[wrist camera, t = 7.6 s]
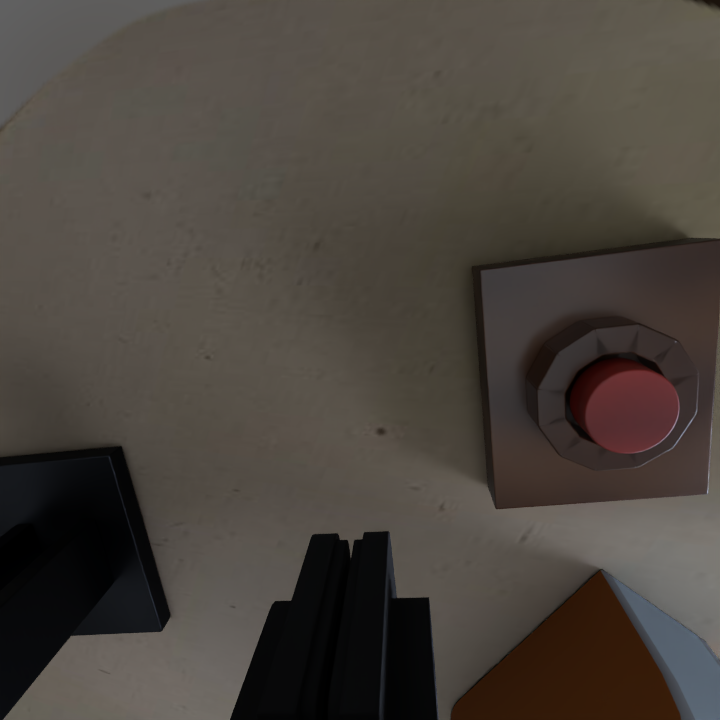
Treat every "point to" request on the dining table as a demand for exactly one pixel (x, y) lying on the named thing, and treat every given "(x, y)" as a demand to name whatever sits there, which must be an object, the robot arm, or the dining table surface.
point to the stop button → (624, 405)
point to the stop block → (585, 348)
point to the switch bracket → (69, 560)
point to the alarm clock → (601, 665)
